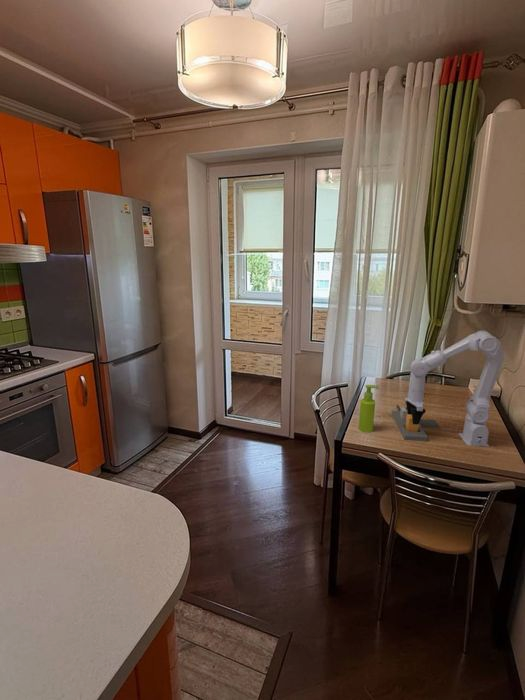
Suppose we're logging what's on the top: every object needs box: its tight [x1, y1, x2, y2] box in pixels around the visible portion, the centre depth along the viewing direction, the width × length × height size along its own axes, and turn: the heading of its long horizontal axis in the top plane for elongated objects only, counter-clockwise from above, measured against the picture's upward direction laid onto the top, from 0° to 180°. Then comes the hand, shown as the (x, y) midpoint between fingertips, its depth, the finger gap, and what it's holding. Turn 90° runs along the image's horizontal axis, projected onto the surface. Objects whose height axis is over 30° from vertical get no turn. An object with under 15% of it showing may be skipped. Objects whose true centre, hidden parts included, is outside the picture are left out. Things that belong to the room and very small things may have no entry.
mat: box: [419, 418, 442, 429], centre depth 162 cm, size 8×8×1 cm
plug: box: [405, 414, 419, 432], centre depth 154 cm, size 4×4×8 cm
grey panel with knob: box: [391, 404, 429, 442], centre depth 162 cm, size 32×9×7 cm, turn 173°
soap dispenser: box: [358, 384, 380, 434], centre depth 155 cm, size 6×7×20 cm
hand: (413, 419), depth 153 cm, fingers open, 7 cm apart
